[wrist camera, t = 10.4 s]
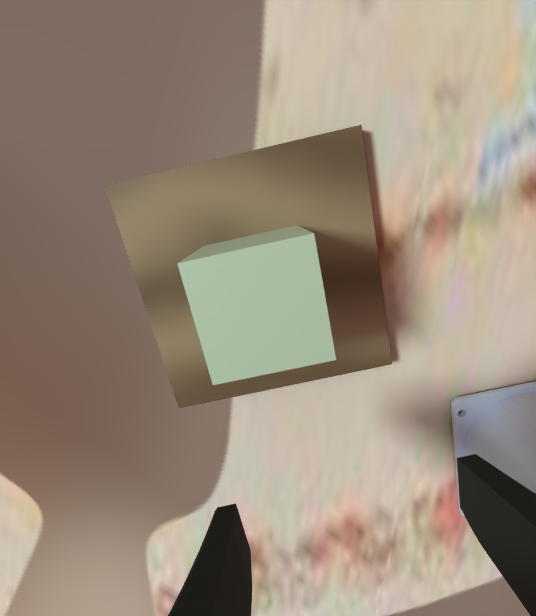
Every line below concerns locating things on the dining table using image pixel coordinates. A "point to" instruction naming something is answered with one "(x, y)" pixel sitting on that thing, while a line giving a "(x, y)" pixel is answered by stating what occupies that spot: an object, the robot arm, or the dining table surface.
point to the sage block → (259, 304)
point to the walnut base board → (249, 221)
